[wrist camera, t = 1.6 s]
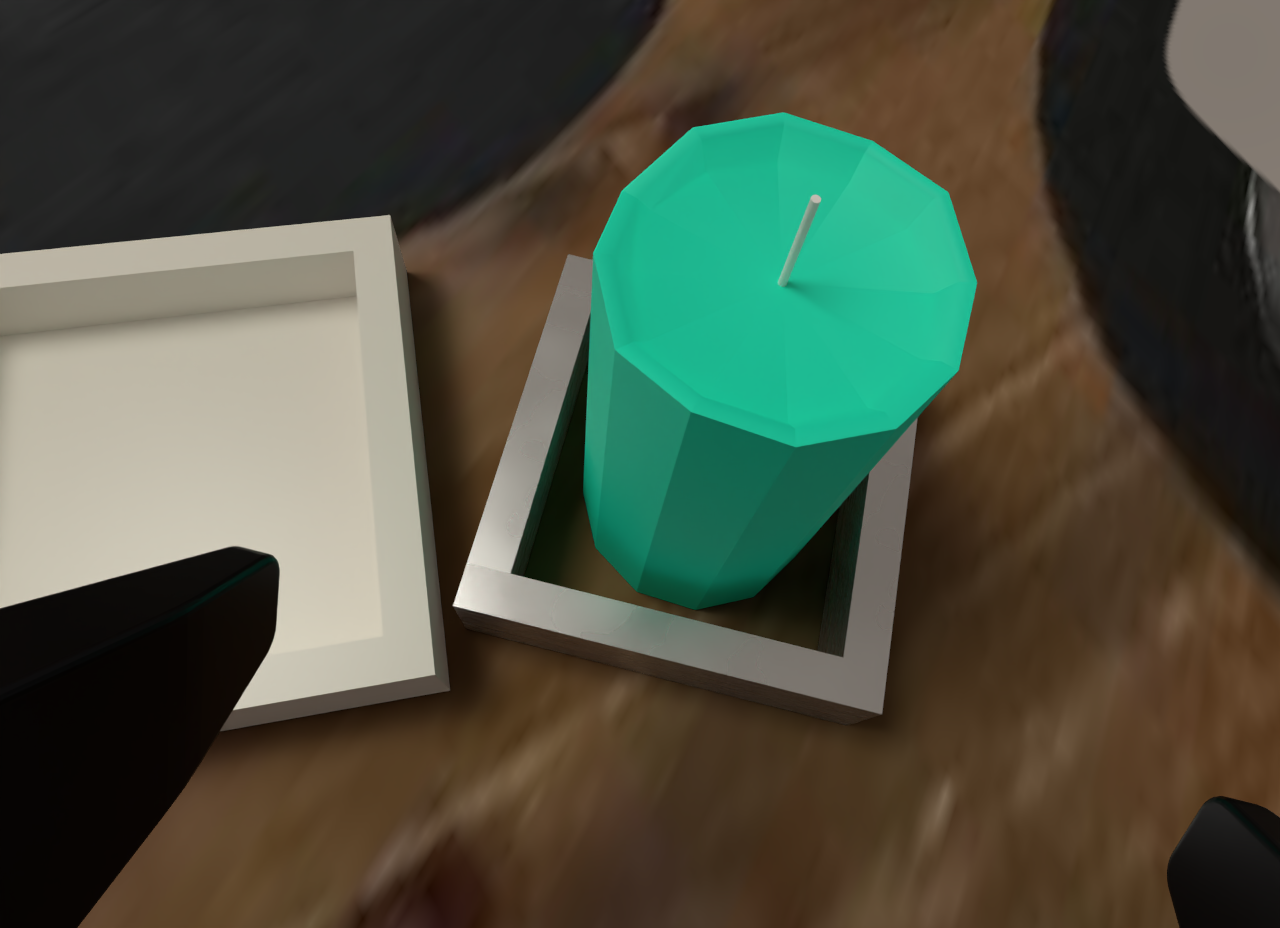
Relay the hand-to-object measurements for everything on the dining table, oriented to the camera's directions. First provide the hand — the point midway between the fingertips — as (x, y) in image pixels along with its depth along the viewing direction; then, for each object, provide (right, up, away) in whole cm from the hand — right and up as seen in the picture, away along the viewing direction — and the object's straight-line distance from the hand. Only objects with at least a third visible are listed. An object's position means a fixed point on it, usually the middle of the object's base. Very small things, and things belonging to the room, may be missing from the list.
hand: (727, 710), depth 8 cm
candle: (+1, +1, +15) cm, 15 cm away
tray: (-12, +2, +14) cm, 18 cm away
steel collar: (+1, +1, +15) cm, 15 cm away
